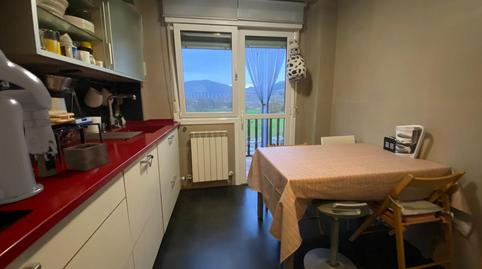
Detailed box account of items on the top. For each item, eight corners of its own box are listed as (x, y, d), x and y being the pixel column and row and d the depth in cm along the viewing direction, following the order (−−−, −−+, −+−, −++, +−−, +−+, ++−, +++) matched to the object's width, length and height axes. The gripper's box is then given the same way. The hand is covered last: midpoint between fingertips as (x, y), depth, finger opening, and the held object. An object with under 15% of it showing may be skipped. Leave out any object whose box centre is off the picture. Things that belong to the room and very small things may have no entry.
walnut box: (86, 170, 90) (82, 149, 88) (67, 168, 93) (63, 148, 91) (109, 162, 100) (105, 143, 98) (91, 161, 103) (87, 142, 101)
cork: (61, 170, 90) (55, 145, 88) (53, 175, 84) (48, 148, 82) (43, 173, 88) (37, 147, 86) (34, 178, 82) (28, 150, 81)
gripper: (11, 125, 82) (22, 171, 85) (41, 125, 77) (51, 173, 80) (34, 122, 89) (44, 165, 92) (63, 122, 84) (72, 167, 87)
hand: (47, 168), depth 86 cm, fingers closed on cork, 4 cm apart
